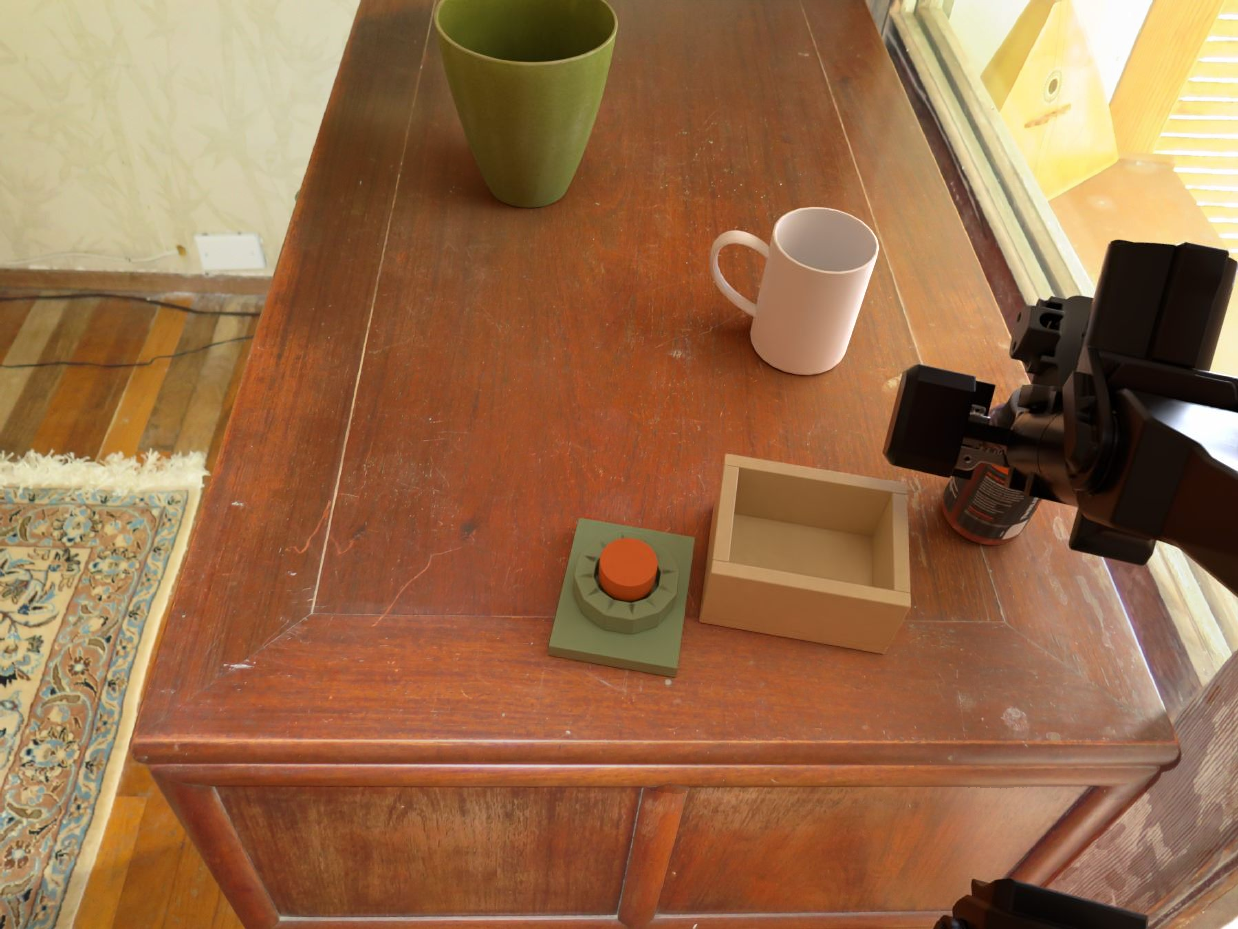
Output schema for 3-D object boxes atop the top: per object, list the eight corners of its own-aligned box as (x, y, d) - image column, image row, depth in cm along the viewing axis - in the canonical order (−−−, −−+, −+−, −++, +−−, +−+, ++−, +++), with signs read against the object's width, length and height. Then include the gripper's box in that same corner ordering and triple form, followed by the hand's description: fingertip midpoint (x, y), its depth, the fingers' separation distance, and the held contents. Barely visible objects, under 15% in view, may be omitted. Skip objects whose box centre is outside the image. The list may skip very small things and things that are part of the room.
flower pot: (435, 146, 96) (421, -22, 83) (585, 132, 99) (592, -31, 86) (461, 242, 87) (449, 70, 74) (625, 223, 90) (639, 55, 77)
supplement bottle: (1031, 551, 69) (1102, 446, 60) (947, 547, 69) (1006, 440, 60) (1011, 484, 73) (1076, 376, 64) (931, 480, 73) (985, 370, 64)
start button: (650, 606, 61) (653, 590, 60) (593, 596, 61) (595, 580, 60) (658, 558, 63) (661, 543, 62) (603, 549, 64) (605, 533, 62)
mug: (844, 317, 83) (877, 213, 75) (846, 383, 78) (881, 279, 70) (701, 297, 84) (718, 192, 76) (694, 362, 79) (711, 257, 71)
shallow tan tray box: (884, 654, 63) (911, 607, 59) (698, 622, 64) (710, 572, 59) (883, 534, 69) (907, 482, 65) (713, 506, 70) (725, 453, 65)
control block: (675, 677, 61) (680, 654, 59) (548, 655, 61) (548, 631, 59) (693, 547, 67) (698, 521, 65) (578, 527, 68) (579, 501, 66)
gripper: (1328, 340, 49) (1189, 353, 65) (953, 264, 51) (905, 294, 67) (1265, 555, 50) (1144, 517, 66) (900, 471, 52) (865, 454, 68)
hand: (1014, 441), depth 67 cm, fingers closed on supplement bottle, 6 cm apart
